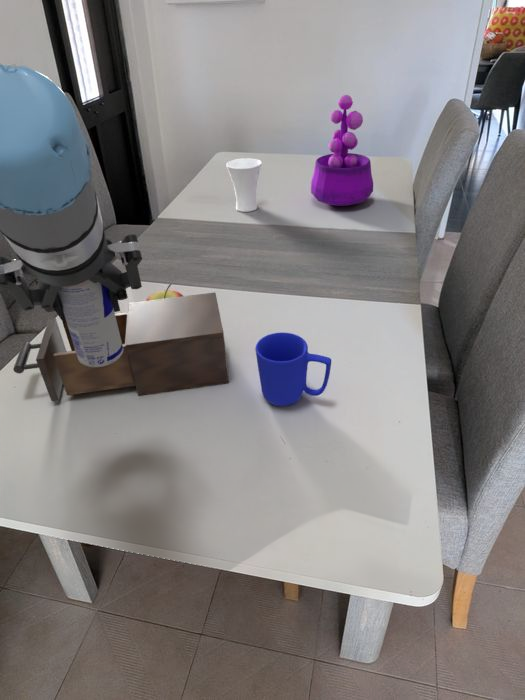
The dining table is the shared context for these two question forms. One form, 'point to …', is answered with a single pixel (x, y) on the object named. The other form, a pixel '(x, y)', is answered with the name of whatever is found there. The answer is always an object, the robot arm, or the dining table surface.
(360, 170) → the decorative plant
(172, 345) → the cabinet
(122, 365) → the drawer
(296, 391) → the mug
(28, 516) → the dining table surface
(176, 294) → the apple
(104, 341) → the beverage can
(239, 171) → the cup
